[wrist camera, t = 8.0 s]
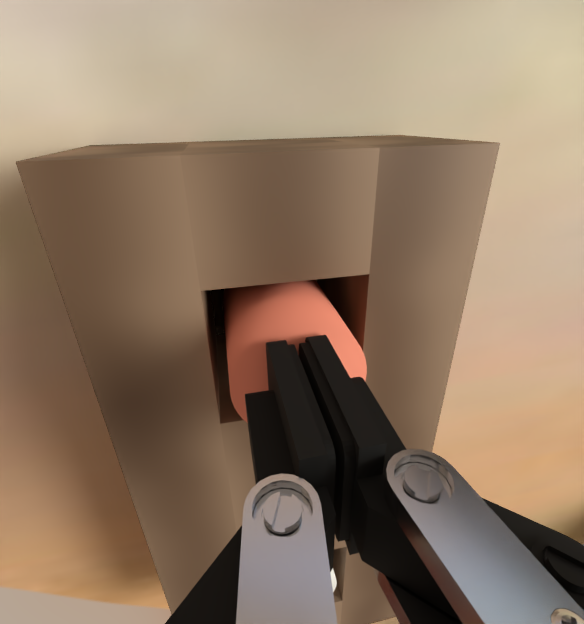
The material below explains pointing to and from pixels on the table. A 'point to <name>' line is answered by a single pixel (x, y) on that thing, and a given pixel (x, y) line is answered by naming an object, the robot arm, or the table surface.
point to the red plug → (279, 331)
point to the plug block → (249, 272)
